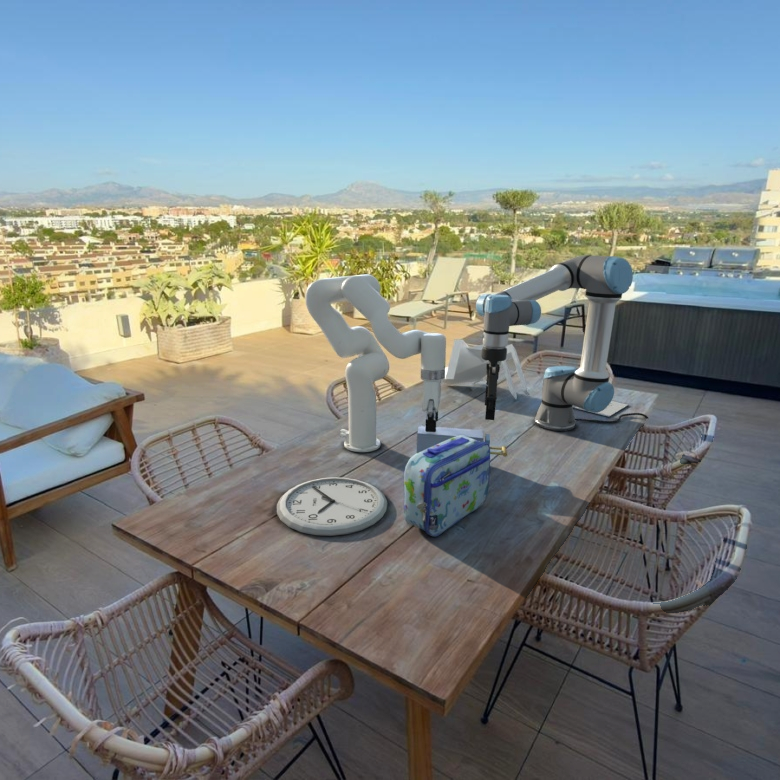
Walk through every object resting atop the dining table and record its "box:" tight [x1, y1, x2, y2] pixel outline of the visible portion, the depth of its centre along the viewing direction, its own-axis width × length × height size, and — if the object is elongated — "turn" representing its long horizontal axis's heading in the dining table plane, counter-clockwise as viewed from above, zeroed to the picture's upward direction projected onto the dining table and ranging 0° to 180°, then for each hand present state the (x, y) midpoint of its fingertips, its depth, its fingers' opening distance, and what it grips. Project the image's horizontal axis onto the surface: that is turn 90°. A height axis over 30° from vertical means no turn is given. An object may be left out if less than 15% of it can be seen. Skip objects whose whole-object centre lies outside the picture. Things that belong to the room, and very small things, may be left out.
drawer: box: [484, 433, 508, 458], centre depth 166 cm, size 25×5×10 cm, turn 82°
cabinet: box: [416, 425, 485, 454], centre depth 167 cm, size 20×7×11 cm, turn 82°
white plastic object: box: [441, 338, 531, 400], centre depth 245 cm, size 37×45×31 cm
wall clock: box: [276, 476, 388, 537], centre depth 142 cm, size 30×2×30 cm
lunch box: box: [403, 435, 491, 538], centre depth 134 cm, size 26×11×21 cm, turn 134°
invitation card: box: [573, 400, 629, 418], centre depth 226 cm, size 21×1×15 cm
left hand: (431, 426), depth 165 cm, fingers open, 9 cm apart
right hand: (489, 412), depth 165 cm, fingers open, 13 cm apart
